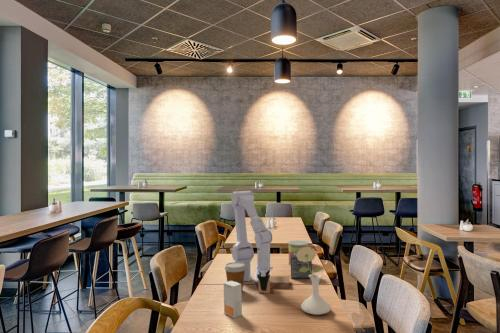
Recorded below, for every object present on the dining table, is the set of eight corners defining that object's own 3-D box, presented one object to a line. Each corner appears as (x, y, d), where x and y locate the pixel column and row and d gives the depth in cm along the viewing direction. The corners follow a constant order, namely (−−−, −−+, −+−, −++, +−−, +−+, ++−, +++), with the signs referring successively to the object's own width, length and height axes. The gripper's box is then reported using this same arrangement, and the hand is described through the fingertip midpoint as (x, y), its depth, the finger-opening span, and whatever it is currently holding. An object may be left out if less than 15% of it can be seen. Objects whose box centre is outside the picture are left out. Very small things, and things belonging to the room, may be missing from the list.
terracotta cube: (258, 292, 161) (258, 281, 161) (259, 288, 166) (258, 278, 166) (269, 292, 160) (269, 281, 160) (269, 288, 165) (269, 278, 165)
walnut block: (270, 288, 166) (269, 282, 166) (270, 282, 175) (270, 276, 175) (289, 289, 166) (289, 282, 165) (288, 282, 174) (288, 276, 174)
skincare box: (223, 313, 138) (223, 282, 138) (231, 310, 141) (231, 280, 141) (234, 318, 134) (233, 286, 134) (242, 314, 137) (242, 283, 137)
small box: (311, 275, 184) (311, 254, 184) (312, 279, 178) (312, 258, 178) (290, 274, 185) (290, 254, 185) (290, 278, 179) (290, 257, 179)
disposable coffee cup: (243, 295, 157) (243, 268, 157) (222, 294, 159) (222, 267, 159) (247, 288, 167) (247, 262, 166) (228, 286, 169) (227, 261, 168)
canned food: (289, 266, 200) (289, 245, 200) (288, 261, 211) (287, 240, 211) (309, 266, 200) (309, 244, 199) (307, 260, 211) (307, 240, 211)
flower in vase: (331, 307, 143) (330, 244, 143) (330, 319, 132) (329, 251, 132) (298, 304, 147) (297, 243, 146) (294, 315, 136) (293, 249, 135)
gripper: (272, 261, 155) (272, 293, 155) (272, 253, 170) (273, 282, 170) (256, 261, 156) (256, 293, 156) (257, 253, 170) (258, 282, 170)
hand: (264, 287), depth 163 cm, fingers open, 7 cm apart
